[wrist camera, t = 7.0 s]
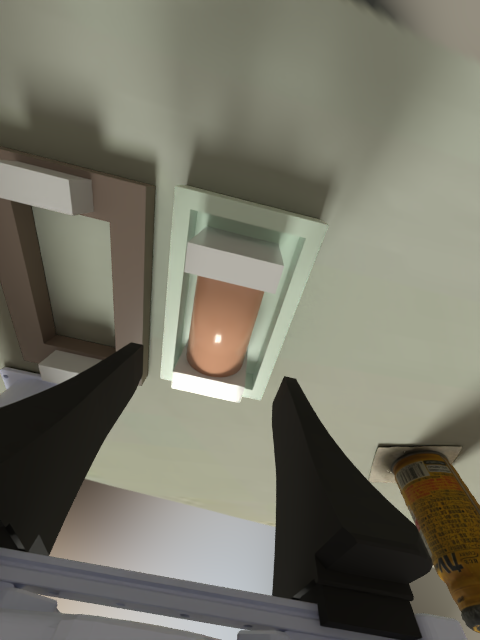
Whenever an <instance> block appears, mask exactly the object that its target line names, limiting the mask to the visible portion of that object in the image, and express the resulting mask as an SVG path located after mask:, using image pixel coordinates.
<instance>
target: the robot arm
mask: <svg viewBox="0 0 480 640" xmlns="http://www.w3.org/2000/svg"><path fill="white" fill-rule="evenodd" d="M143 349H144V345H142V344H137V343H133V342H131V343H129V344H128V345H126V346H124V347H123V348H121V349H120V350H118V351H116V352H115V353H113V354H112V355H110V356H108V357H107V358H105V359H104V360H102V361H100V362H99V363H97V364H95V365H94V366H92V367H90V368H88V369H87V370H85V371H83V372H81V373H79V374H77V375H76V376H74V377H72V378H70V379H68V380H66V381H64V382H62V383H60V384H57V383H52V382H48V381H43V380H42V378H41V374H36V373H32V372H27V371H22V370H18V369H13V368H9V367H3V368H2V369H0V373H1V376H2V378H3V381H4V384H5V386H6V389H7V390H5V391H4V392H3V393H2V394H1V395H0V640H220V639H216V638H212V637H208V636H205V635H201V634H196V633H192V632H188V631H183V630H178V629H172V628H168V627H162V626H158V625H151V624H146V623H139V622H133V621H126V620H119V619H112V618H106V617H100V616H92V615H82V614H75V615H74V614H63V613H60V612H59V611H58V609H57V608H56V607H57V601H56V600H53V599H50V598H47V597H44V596H41V595H46V596H52V597H58V598H64V599H70V600H76V601H81V602H87V603H94V604H99V605H105V606H111V607H117V608H123V609H129V610H134V611H140V612H146V613H152V614H158V615H164V616H169V617H175V618H181V619H187V620H193V621H199V622H204V623H210V624H216V625H222V626H228V627H234V628H240V629H245V630H241V631H239V633H238V635H237V640H467V638H466V636H465V634H464V631H463V629H462V627H461V625H460V623H459V622H458V621H457V620H456V619H452V618H447V617H442V616H436V615H430V614H414V613H413V610H412V607H411V604H410V601H412V600H413V597H414V596H413V594H412V591H411V589H410V586H409V583H411V582H413V581H415V580H416V579H418V578H420V577H422V576H424V575H425V574H427V573H428V572H430V570H431V568H432V566H433V562H432V559H431V557H430V555H429V552H428V550H427V548H426V546H425V544H424V541H423V539H422V537H421V535H420V533H419V531H418V529H417V527H416V526H415V525H414V524H413V523H412V522H411V521H410V520H409V519H408V518H406V517H405V516H404V515H403V514H402V513H401V512H400V511H399V510H398V509H397V508H395V507H394V506H393V505H392V504H391V503H390V502H389V501H388V500H387V499H386V498H385V497H384V496H383V495H382V494H381V493H380V492H379V491H378V490H377V489H376V488H375V487H374V486H373V485H372V484H371V483H370V482H369V481H368V480H367V479H366V478H365V477H364V476H363V475H362V474H361V472H360V471H359V470H358V469H357V468H356V467H355V466H354V465H353V463H352V462H351V461H350V460H349V459H348V458H347V456H346V455H345V454H344V453H343V451H342V450H341V449H340V448H339V446H338V445H337V444H336V442H335V441H334V440H333V438H332V437H331V436H330V434H329V433H328V431H327V430H326V429H325V427H324V426H323V424H322V423H321V421H320V420H319V418H318V416H317V415H316V413H315V411H314V410H313V408H312V407H311V405H310V403H309V401H308V400H307V398H306V396H305V394H304V393H303V391H302V389H301V387H300V385H299V384H298V382H297V380H296V379H294V378H290V377H285V376H284V378H283V380H282V383H281V385H280V387H279V390H278V392H277V394H276V397H275V399H274V401H273V406H272V430H273V441H274V453H275V464H276V533H275V534H276V535H275V559H274V576H273V592H272V596H270V595H264V594H258V593H253V592H247V591H242V590H236V589H230V588H225V587H218V586H213V585H208V584H202V583H197V582H191V581H185V580H180V579H174V578H169V577H163V576H157V575H152V574H146V573H141V572H135V571H129V570H124V569H118V568H112V567H107V566H101V565H96V564H90V563H85V562H79V561H73V560H68V559H62V558H56V557H51V556H49V554H50V552H51V550H52V548H53V545H54V543H55V541H56V538H57V536H58V533H59V532H60V529H61V527H62V525H63V523H64V520H65V518H66V516H67V514H68V512H69V510H70V508H71V505H72V503H73V501H74V499H75V497H76V495H77V493H78V491H79V489H80V486H81V485H82V482H83V480H84V479H85V477H86V475H87V473H88V471H89V469H90V467H91V465H92V463H93V461H94V459H95V457H96V455H97V453H98V451H99V449H100V447H101V445H102V443H103V442H104V440H105V438H106V437H107V435H108V433H109V432H110V430H111V429H112V427H113V425H114V424H115V422H116V421H117V419H118V418H119V416H120V415H121V413H122V412H123V410H124V408H125V407H126V405H127V404H128V402H129V401H130V399H131V397H132V396H133V394H134V392H135V390H136V388H137V386H138V384H139V382H140V380H141V378H142V376H143ZM38 594H40V595H38Z"/></svg>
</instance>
